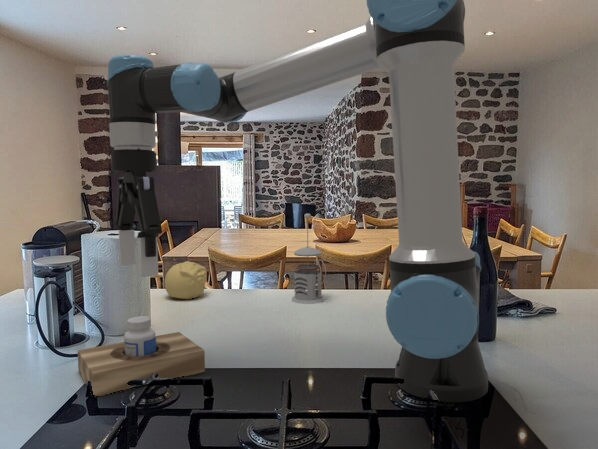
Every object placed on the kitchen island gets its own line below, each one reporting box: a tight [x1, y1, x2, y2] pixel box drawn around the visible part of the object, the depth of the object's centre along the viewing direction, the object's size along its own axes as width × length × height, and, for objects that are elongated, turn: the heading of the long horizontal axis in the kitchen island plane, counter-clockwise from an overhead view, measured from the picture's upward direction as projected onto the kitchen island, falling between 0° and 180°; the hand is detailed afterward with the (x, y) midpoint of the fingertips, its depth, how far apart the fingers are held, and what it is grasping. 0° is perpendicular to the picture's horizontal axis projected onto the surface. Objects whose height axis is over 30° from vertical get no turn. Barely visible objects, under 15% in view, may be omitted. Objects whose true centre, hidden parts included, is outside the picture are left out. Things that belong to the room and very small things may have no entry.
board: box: [77, 331, 206, 397], centre depth 89 cm, size 13×19×4 cm
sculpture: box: [164, 260, 208, 300], centre depth 145 cm, size 12×12×11 cm
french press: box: [291, 213, 327, 305], centre depth 140 cm, size 10×12×25 cm
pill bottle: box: [123, 315, 157, 356], centre depth 89 cm, size 6×5×10 cm
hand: (138, 270), depth 88 cm, fingers open, 13 cm apart
